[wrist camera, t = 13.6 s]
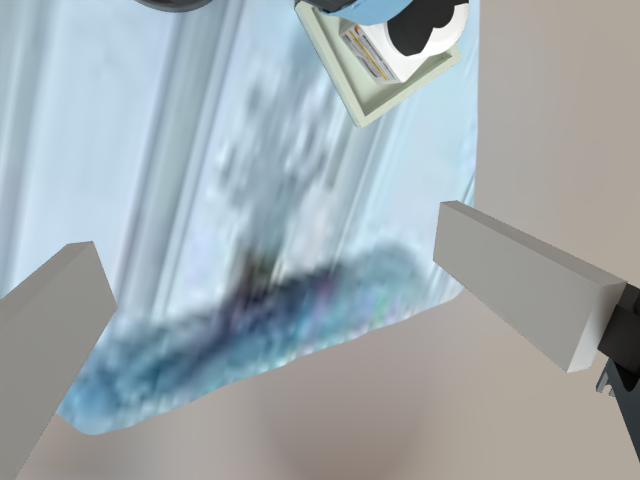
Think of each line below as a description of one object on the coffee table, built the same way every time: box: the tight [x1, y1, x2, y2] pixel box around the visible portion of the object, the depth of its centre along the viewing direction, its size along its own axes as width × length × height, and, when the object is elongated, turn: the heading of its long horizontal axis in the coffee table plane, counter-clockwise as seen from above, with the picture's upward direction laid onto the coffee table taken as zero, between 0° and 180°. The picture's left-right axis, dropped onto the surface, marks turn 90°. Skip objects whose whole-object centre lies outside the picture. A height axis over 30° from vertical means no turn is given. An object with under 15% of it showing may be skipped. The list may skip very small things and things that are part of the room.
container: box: [339, 0, 469, 85], centre depth 32 cm, size 8×8×13 cm
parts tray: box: [295, 1, 462, 128], centre depth 38 cm, size 15×15×2 cm
